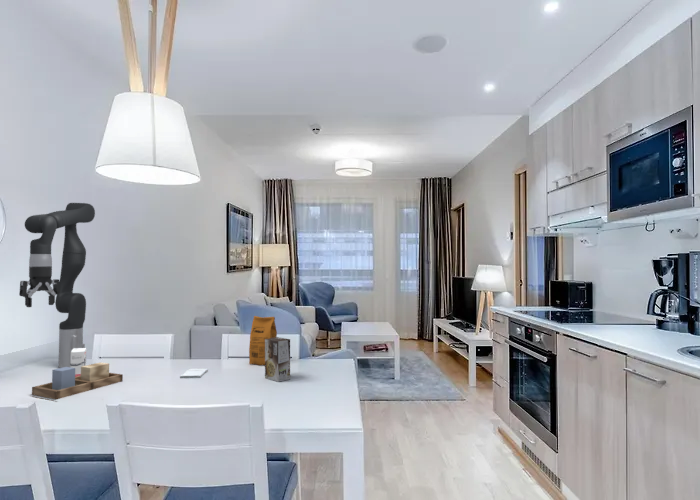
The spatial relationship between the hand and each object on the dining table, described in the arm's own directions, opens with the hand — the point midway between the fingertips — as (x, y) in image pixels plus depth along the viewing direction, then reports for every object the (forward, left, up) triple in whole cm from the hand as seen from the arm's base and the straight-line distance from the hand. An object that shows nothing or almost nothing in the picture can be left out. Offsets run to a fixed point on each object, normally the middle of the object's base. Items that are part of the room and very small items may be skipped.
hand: (40, 306), depth 179 cm
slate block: (+8, +27, -29) cm, 40 cm away
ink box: (-9, +11, -30) cm, 33 cm away
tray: (+2, +27, -30) cm, 40 cm away
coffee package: (-63, +63, -30) cm, 94 cm away
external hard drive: (-34, +49, -31) cm, 67 cm away
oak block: (-5, +27, -29) cm, 40 cm away
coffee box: (-42, +85, -30) cm, 99 cm away
